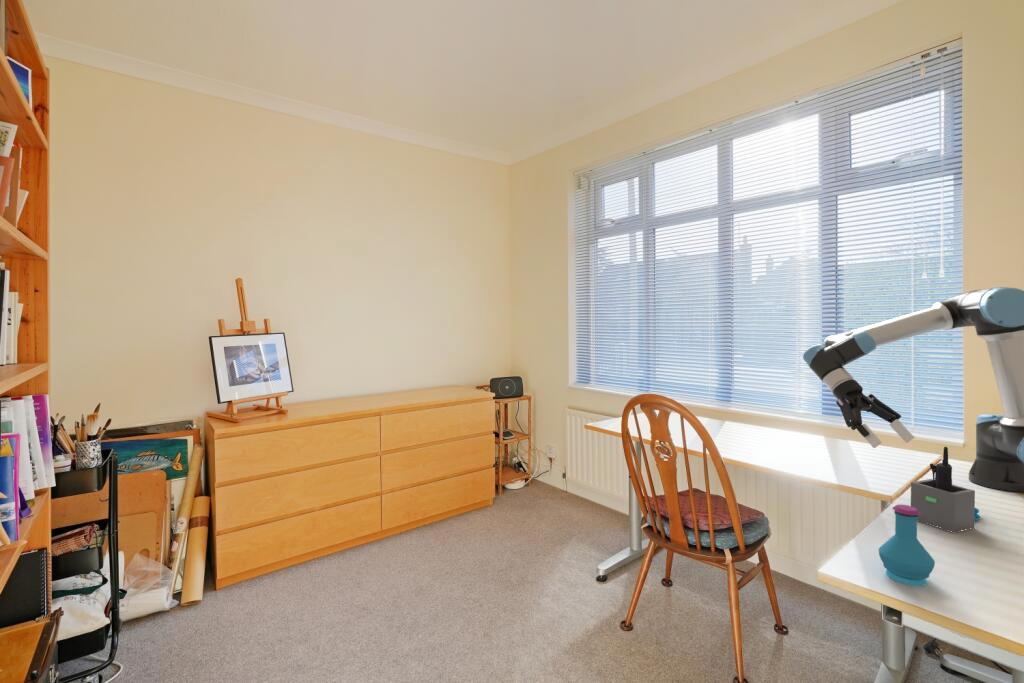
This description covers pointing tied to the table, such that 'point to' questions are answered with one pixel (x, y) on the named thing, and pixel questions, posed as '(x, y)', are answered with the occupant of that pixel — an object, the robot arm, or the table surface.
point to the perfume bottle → (906, 550)
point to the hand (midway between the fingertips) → (894, 442)
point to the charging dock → (944, 505)
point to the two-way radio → (942, 473)
